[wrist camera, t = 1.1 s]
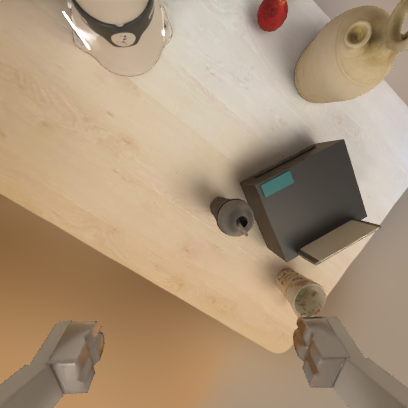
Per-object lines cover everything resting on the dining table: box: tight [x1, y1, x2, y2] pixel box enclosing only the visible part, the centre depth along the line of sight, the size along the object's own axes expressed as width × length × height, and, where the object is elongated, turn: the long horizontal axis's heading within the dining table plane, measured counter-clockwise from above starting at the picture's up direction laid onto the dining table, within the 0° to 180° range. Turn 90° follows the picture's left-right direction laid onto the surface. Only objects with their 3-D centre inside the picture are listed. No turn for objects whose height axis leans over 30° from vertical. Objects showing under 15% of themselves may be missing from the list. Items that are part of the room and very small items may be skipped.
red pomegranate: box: [257, 0, 288, 32], centre depth 45 cm, size 6×6×8 cm
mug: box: [277, 269, 326, 318], centre depth 56 cm, size 8×13×10 cm, turn 11°
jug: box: [295, 0, 408, 103], centre depth 41 cm, size 15×16×25 cm
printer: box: [240, 139, 381, 265], centre depth 49 cm, size 19×22×16 cm
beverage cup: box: [210, 198, 254, 236], centre depth 44 cm, size 7×7×20 cm
